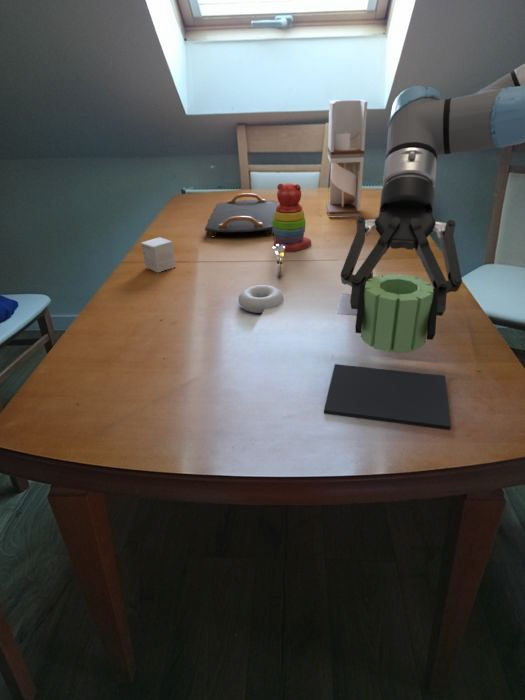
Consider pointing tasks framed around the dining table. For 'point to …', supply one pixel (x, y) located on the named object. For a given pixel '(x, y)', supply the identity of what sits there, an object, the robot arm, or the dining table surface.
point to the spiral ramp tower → (346, 156)
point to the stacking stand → (348, 302)
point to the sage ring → (396, 312)
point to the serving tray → (242, 215)
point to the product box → (158, 254)
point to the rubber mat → (389, 396)
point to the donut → (260, 298)
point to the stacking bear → (289, 219)
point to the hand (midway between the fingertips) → (393, 333)
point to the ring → (279, 256)
